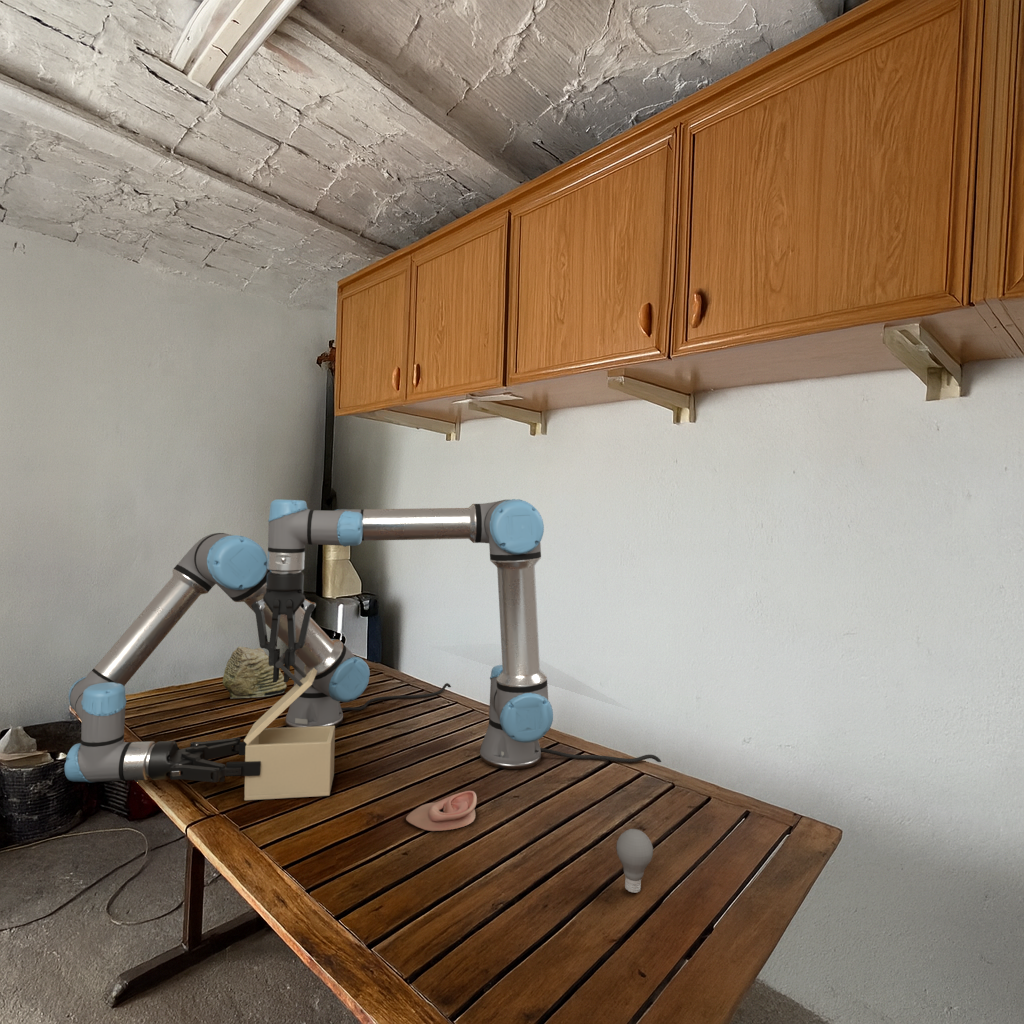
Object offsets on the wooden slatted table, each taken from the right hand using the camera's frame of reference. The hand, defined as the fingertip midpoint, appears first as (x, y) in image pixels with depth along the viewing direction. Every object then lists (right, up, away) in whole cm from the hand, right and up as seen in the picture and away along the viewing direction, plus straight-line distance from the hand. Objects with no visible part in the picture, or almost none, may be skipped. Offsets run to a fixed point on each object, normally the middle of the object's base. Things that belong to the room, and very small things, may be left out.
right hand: (281, 680), depth 136 cm
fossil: (-31, -21, +62) cm, 72 cm away
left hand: (-3, -17, 0) cm, 17 cm away
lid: (+1, -6, 0) cm, 6 cm away
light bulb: (+70, -27, -31) cm, 81 cm away
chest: (+2, -23, +1) cm, 24 cm away
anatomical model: (+36, -25, -9) cm, 45 cm away
